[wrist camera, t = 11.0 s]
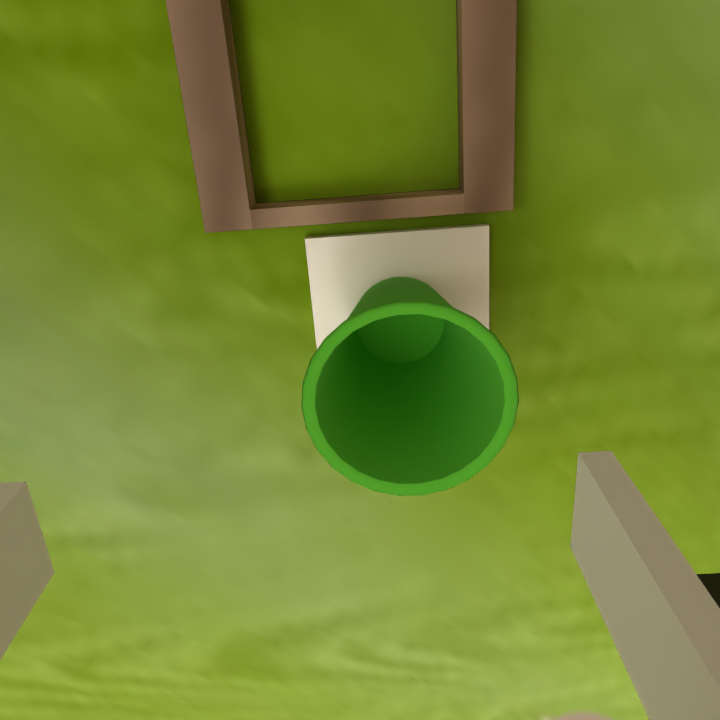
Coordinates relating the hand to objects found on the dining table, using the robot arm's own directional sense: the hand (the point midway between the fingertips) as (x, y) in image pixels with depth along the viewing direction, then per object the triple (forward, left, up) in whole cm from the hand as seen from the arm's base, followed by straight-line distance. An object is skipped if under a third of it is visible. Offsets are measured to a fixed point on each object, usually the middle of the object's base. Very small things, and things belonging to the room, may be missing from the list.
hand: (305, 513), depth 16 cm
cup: (+3, -3, -22) cm, 23 cm away
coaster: (+3, -3, -23) cm, 23 cm away
